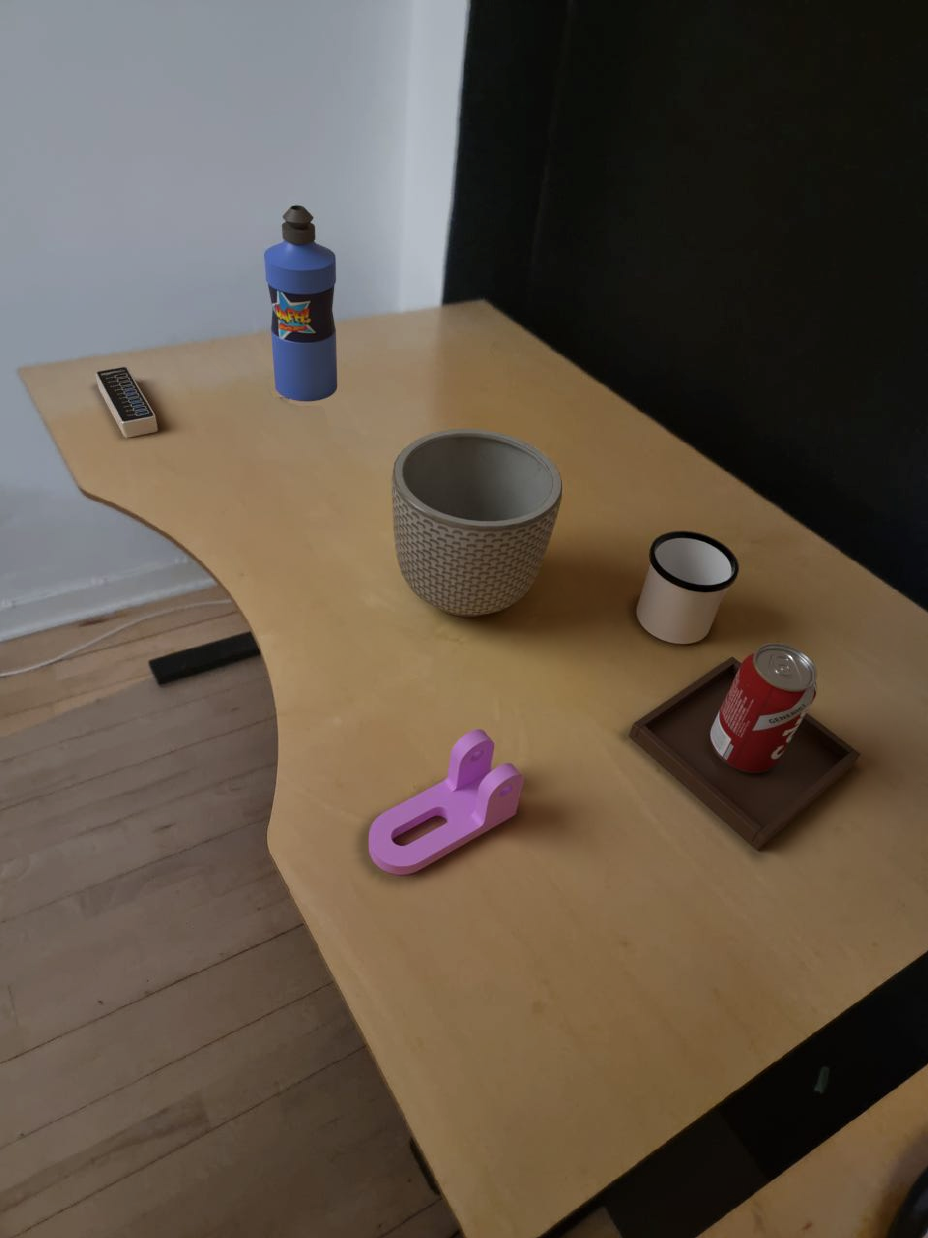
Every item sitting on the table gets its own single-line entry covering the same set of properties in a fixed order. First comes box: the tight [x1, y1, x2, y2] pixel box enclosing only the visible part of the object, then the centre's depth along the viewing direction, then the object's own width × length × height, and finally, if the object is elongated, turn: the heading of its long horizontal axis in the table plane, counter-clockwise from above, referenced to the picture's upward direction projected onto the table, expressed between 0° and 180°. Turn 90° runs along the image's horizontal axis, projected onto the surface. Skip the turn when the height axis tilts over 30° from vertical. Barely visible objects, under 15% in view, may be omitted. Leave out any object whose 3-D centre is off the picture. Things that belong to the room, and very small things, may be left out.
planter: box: [390, 428, 563, 618], centre depth 90 cm, size 17×17×16 cm
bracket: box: [368, 728, 525, 876], centre depth 71 cm, size 13×6×7 cm, turn 125°
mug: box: [635, 530, 740, 645], centre depth 93 cm, size 12×10×9 cm
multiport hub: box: [94, 366, 159, 439], centre depth 116 cm, size 4×14×2 cm, turn 30°
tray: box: [628, 656, 861, 852], centre depth 82 cm, size 16×16×2 cm
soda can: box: [710, 642, 818, 773], centre depth 78 cm, size 7×7×12 cm
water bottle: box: [263, 204, 338, 403], centre depth 116 cm, size 9×9×25 cm
